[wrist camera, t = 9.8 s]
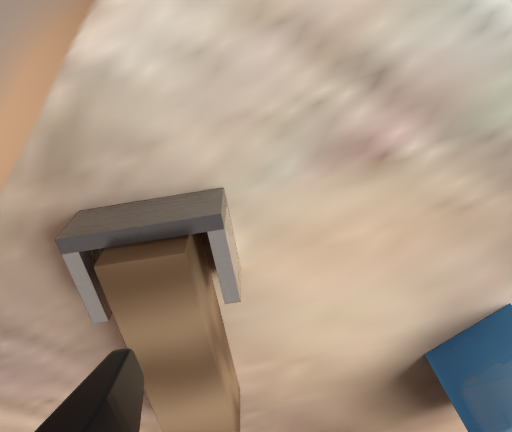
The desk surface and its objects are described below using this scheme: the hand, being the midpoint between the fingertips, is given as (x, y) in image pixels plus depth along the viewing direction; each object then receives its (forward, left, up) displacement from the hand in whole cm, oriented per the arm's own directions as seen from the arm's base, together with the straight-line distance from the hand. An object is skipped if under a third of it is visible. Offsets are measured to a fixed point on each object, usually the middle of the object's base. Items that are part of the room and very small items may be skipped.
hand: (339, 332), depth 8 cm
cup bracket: (-4, +7, -12) cm, 14 cm away
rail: (-9, +7, -12) cm, 17 cm away
